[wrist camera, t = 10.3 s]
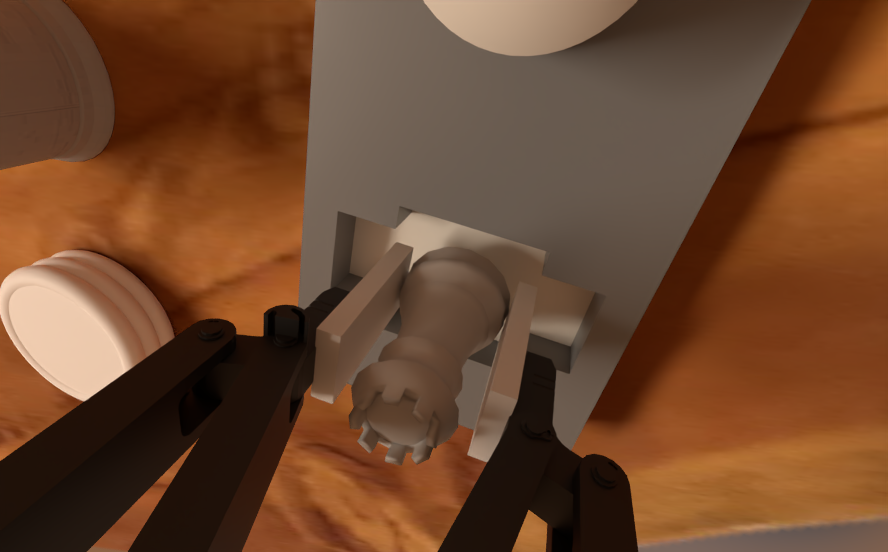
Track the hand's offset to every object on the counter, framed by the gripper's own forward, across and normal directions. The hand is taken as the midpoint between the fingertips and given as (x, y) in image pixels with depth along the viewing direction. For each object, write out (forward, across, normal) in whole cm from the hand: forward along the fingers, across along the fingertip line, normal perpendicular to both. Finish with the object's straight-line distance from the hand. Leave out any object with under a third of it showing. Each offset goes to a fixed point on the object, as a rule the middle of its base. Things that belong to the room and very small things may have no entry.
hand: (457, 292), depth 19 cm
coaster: (+3, +22, +12) cm, 25 cm away
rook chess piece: (0, 0, 0) cm, 1 cm away
